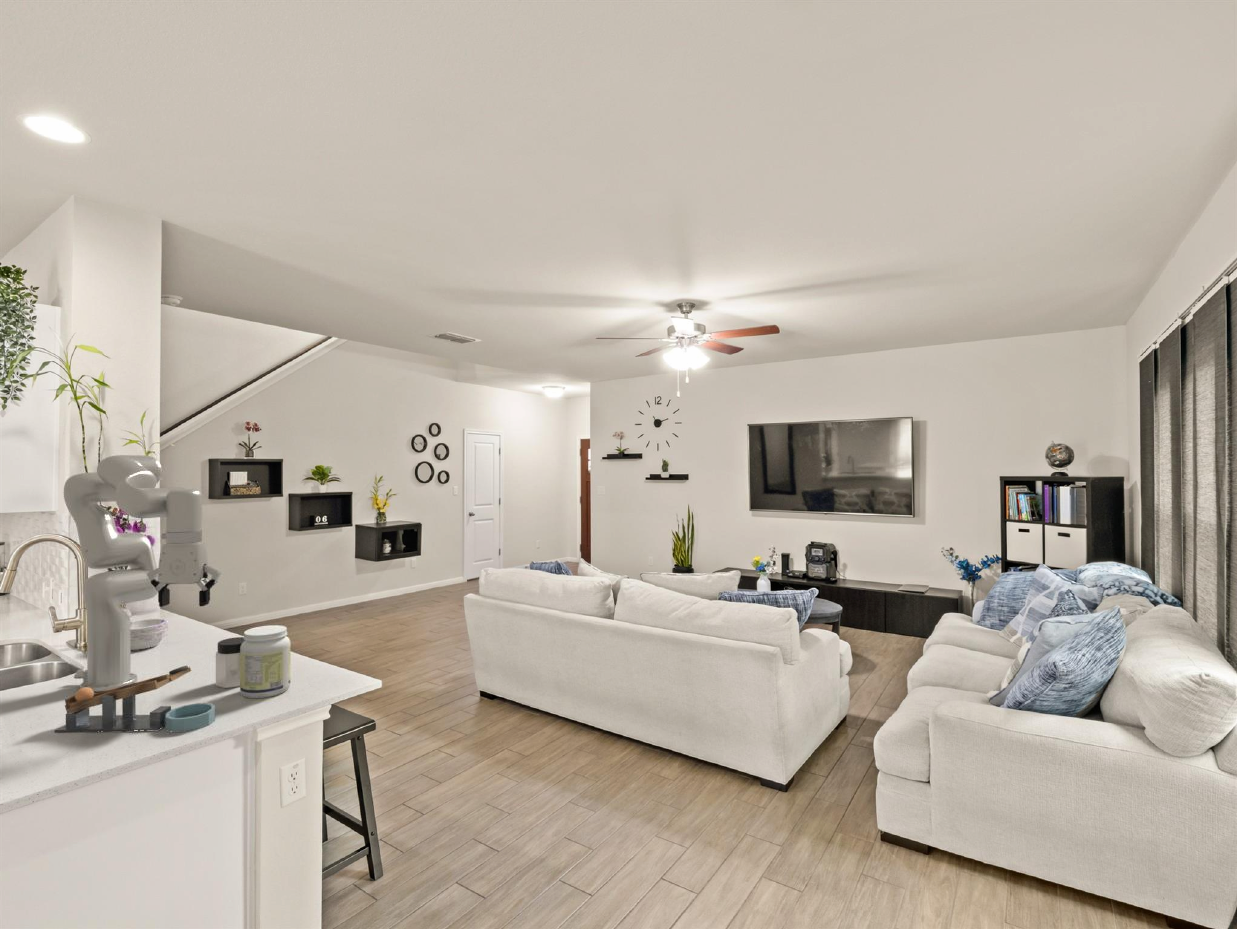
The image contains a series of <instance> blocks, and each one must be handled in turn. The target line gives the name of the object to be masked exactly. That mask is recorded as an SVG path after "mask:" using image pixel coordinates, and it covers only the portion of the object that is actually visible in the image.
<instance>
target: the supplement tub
mask: <svg viewBox="0 0 1237 929" xmlns="http://www.w3.org/2000/svg"><path fill="white" fill-rule="evenodd" d="M287 629H288V628H287V627H286V626H285V625H277V624H275V625H270V624H269V625H262V626H256V627H252V628H249V629H247V630H245V631H244V632H243V636H242V637H243V639H244V640H245V641H244V642H243V643H242V644H241V647H240V686H239V687H240V688H239V693H240V694H241V696H243V697H245V698H249V699H266V698H270V697H271V698H272V697H275V696H277V695H281V694H282V693H284V692H286V691H288V689H290V687H291V682H292V681H291V645H292V643H291V640H290V638H289V637H288V636H287V635H288V631H287Z"/></svg>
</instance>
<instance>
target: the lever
mask: <svg viewBox="0 0 1237 929" xmlns="http://www.w3.org/2000/svg"><path fill="white" fill-rule="evenodd" d="M190 672H192V669H191V667H190V666H188V665H183V666H179V667H177V668H174V669H172V670H170V671H169V672H168V673H167V674H162V675H159V676H155V677H151V678H149V679H148V678H147V679H145V680H141V681H136V682H134V683H132V684H129V685H125V686H122V687H118V688H114V689H111V690H107V691H100V692H95V693H94V695H93V697H92V698H88V699H85V700H81V701H76V699H75V694H74V695H72V696H70V697H68V698H66V699H64V703H65V705H64V707H65V711H66V714H67V713H71V712H74V711H78V710H82V709H85V708H89V709H90V708H93V707H96V706H101V705H102V696H105V695H116V701H118V700H122V698H126V697H130V696H133V695H135V696H136V695H141V694H144V693H147V692H151V691H155V690H157V689H160V688H162V687H164V686H166V685H167V684H170V683H171V682H173V681H176V680H177V679H179V678H180V677H182V676H185V675H186V674H188V673H190Z"/></svg>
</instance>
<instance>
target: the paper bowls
mask: <svg viewBox="0 0 1237 929" xmlns="http://www.w3.org/2000/svg"><path fill="white" fill-rule="evenodd" d="M168 634H169V621H168V619H165V618H147V619H139V620H138V619H137V620H132V621H131V620H130V651H139V650H140V649H141V650H145V649H146V648H147V649H150V647H151V648H153V647H157V646H158V645H159V644H160V643H161V641H162V639H163V638H164V637H167V636H168ZM147 649H146V650H147ZM141 650H140V651H141Z"/></svg>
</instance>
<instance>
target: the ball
mask: <svg viewBox="0 0 1237 929" xmlns="http://www.w3.org/2000/svg"><path fill="white" fill-rule="evenodd" d="M94 694H95V692H94V691H93V690H92V689H91V688H89V687H84V688H81V689H80V688H79V689H78V690H77V691H76V692H75V694H74V695H75V699H76V701H81V700H85V699H88V698H92V697H93V695H94Z"/></svg>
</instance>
